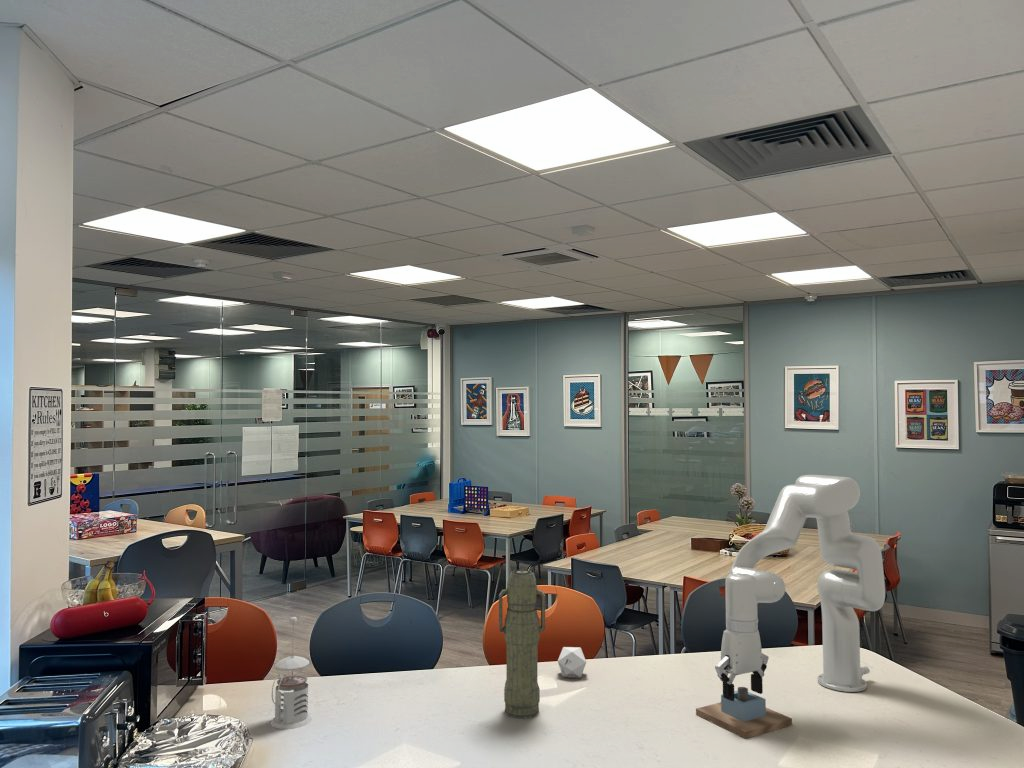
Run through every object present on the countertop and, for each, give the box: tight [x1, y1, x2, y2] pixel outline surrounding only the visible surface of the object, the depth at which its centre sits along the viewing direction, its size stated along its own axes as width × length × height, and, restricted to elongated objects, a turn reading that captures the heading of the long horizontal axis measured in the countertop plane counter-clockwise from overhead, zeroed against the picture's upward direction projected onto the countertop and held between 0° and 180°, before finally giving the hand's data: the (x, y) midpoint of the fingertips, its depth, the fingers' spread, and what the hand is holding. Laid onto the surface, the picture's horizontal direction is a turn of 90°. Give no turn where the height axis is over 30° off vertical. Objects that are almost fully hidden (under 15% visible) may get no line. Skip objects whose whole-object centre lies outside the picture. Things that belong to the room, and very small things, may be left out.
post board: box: [695, 686, 793, 739], centre depth 179 cm, size 16×16×8 cm
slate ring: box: [720, 690, 767, 722], centre depth 179 cm, size 7×7×4 cm
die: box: [557, 646, 587, 679], centre depth 211 cm, size 8×9×10 cm
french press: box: [269, 616, 313, 730], centre depth 178 cm, size 10×12×25 cm
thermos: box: [498, 569, 546, 719], centre depth 185 cm, size 9×12×35 cm
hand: (742, 695), depth 179 cm, fingers open, 9 cm apart
